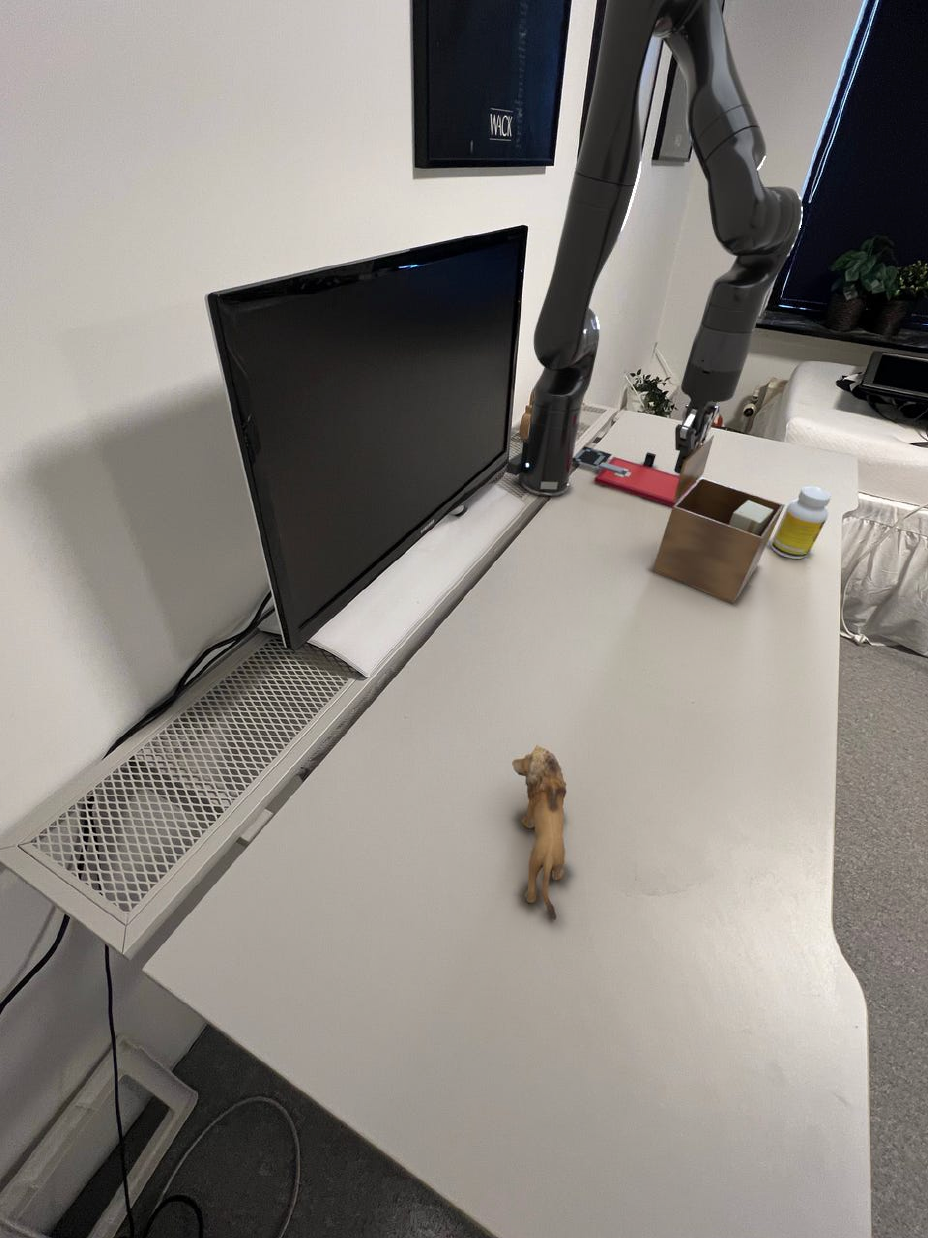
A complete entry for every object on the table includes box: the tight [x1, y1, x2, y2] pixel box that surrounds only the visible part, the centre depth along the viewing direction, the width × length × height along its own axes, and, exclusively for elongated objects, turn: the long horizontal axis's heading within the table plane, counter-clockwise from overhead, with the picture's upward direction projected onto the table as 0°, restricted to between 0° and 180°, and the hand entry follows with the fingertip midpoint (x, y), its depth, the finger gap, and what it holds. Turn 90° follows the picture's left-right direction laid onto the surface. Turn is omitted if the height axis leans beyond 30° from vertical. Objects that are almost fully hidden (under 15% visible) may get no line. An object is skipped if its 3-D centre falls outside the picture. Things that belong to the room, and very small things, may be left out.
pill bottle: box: [770, 485, 832, 560], centre depth 104 cm, size 6×6×12 cm
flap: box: [673, 434, 715, 503], centre depth 94 cm, size 7×13×1 cm
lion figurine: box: [511, 744, 567, 921], centre depth 59 cm, size 15×5×9 cm, turn 6°
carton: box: [652, 477, 786, 605], centre depth 98 cm, size 14×13×12 cm
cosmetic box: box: [729, 500, 773, 537], centre depth 96 cm, size 6×4×12 cm
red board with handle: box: [572, 445, 698, 507], centre depth 124 cm, size 30×3×15 cm
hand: (681, 472), depth 95 cm, fingers closed
